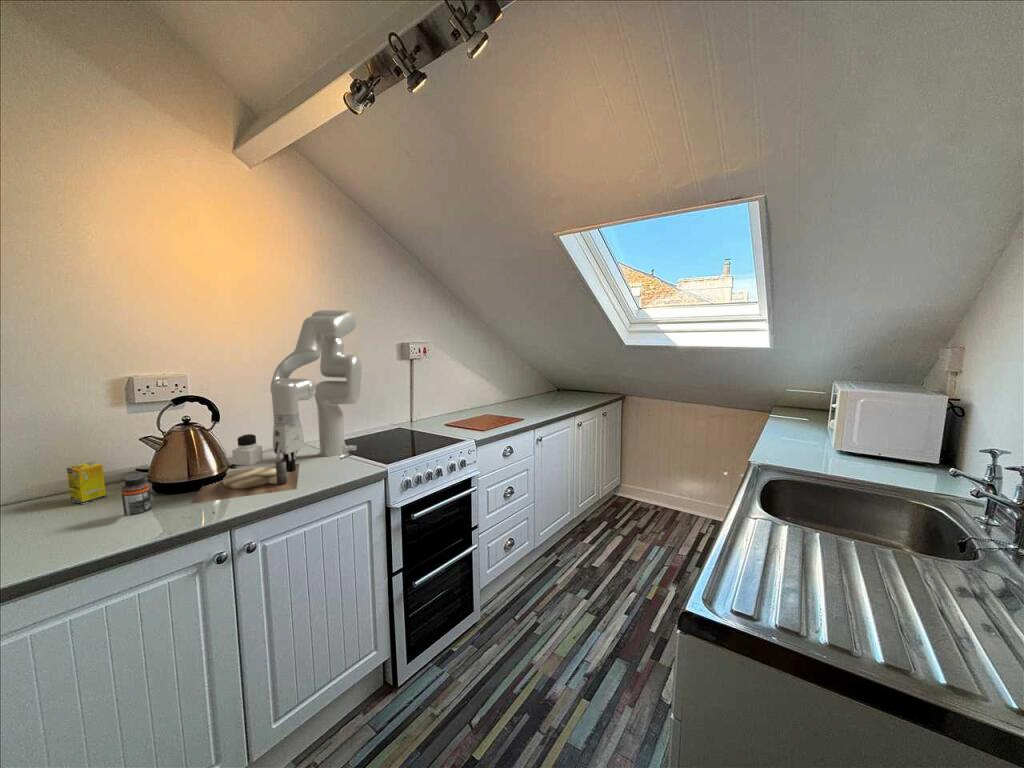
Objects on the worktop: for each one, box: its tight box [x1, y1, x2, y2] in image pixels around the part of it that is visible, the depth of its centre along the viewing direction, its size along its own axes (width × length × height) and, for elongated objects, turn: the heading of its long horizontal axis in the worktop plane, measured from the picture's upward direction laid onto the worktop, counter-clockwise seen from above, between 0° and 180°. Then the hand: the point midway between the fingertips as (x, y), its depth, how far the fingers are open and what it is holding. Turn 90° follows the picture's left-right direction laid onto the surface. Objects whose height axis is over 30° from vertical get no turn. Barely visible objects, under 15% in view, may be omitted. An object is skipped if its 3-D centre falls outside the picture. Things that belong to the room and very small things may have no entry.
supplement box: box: [66, 461, 107, 505], centre depth 129 cm, size 6×6×11 cm
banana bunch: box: [223, 460, 287, 489], centre depth 141 cm, size 22×16×7 cm
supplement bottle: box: [120, 474, 153, 516], centre depth 118 cm, size 6×6×11 cm
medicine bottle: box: [231, 433, 264, 466], centre depth 162 cm, size 7×7×12 cm
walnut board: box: [190, 463, 300, 504], centre depth 142 cm, size 28×28×2 cm
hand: (289, 470), depth 143 cm, fingers closed
